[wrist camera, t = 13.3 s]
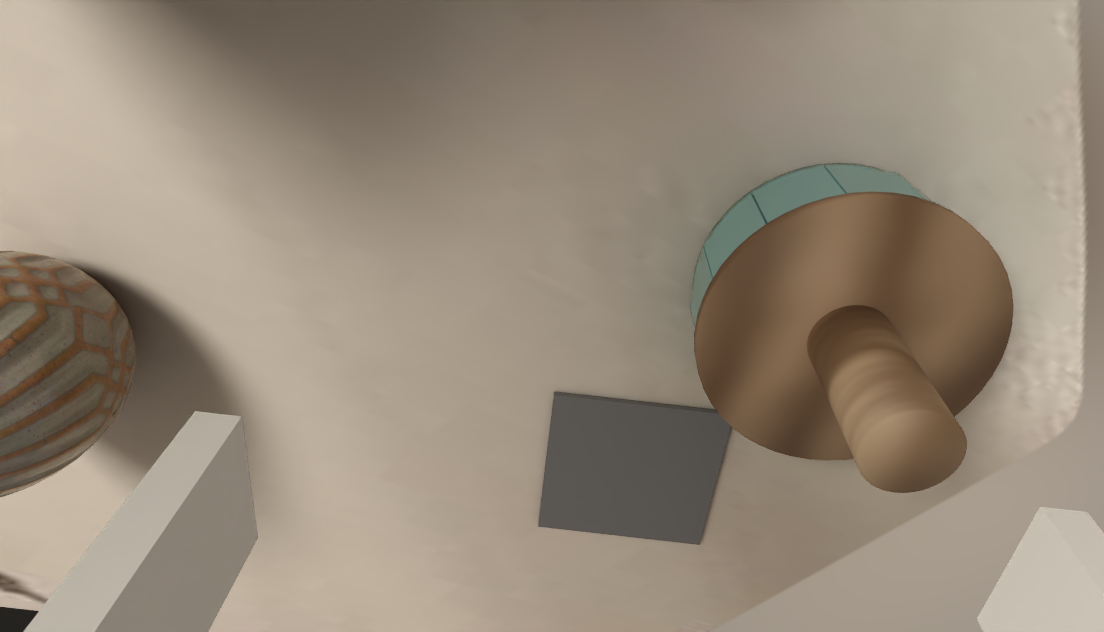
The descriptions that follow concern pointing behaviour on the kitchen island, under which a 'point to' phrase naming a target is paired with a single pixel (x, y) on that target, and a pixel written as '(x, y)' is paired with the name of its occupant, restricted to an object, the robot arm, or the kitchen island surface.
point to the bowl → (785, 209)
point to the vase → (56, 366)
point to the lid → (857, 334)
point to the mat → (631, 467)
